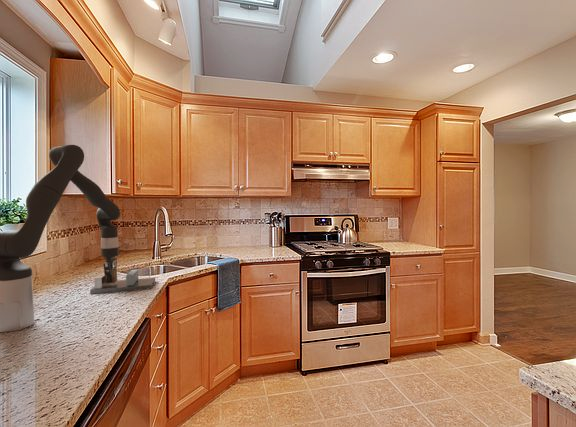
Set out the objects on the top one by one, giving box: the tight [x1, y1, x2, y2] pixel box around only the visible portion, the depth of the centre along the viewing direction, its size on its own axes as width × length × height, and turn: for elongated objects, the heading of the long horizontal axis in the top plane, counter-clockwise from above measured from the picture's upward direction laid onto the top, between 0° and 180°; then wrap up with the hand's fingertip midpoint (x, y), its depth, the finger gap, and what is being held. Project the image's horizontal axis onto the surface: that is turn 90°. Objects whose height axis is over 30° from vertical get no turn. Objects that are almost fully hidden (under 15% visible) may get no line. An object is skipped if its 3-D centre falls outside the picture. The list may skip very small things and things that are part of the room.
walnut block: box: [105, 268, 118, 284], centre depth 149 cm, size 5×4×6 cm
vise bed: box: [90, 271, 156, 295], centre depth 151 cm, size 14×26×7 cm, turn 106°
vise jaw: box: [125, 269, 139, 286], centre depth 152 cm, size 12×3×5 cm, turn 16°
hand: (111, 280), depth 149 cm, fingers closed on walnut block, 5 cm apart
